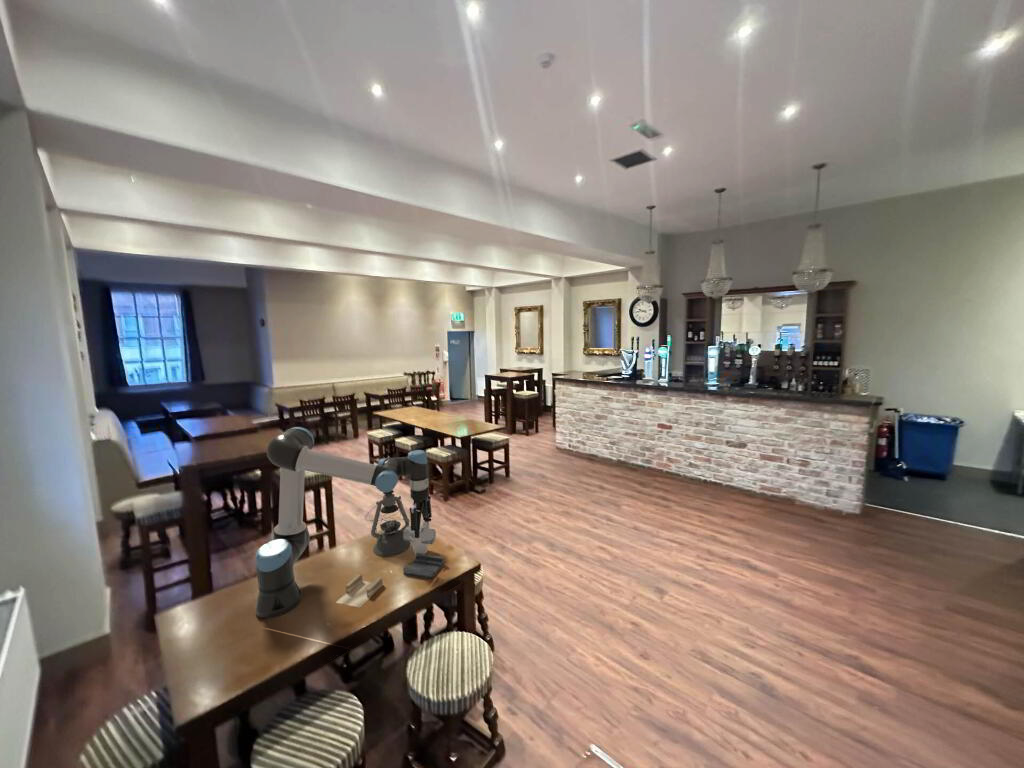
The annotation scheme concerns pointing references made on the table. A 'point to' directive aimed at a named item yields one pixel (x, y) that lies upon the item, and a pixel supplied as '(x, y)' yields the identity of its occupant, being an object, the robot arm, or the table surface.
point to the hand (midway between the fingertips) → (422, 539)
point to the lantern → (390, 527)
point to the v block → (424, 566)
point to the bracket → (359, 591)
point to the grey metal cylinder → (426, 533)
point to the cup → (420, 547)
